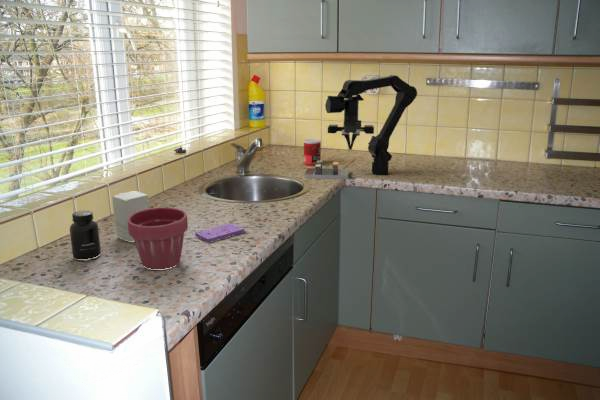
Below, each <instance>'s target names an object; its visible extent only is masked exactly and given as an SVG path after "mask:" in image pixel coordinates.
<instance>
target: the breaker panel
mask: <svg viewBox="0 0 600 400" xmlns="http://www.w3.org/2000/svg"><path fill="white" fill-rule="evenodd" d="M314 167H315V168H313V167H311V168H310V167H307V168H306V170H305V172H304V178H305V179H333V180H335V179H336V180H337V179H338V180H348V179H349V174H350V169H349V168H338V172H333V168H323V159H321V160H317V164H316V165H315V166H314Z"/></svg>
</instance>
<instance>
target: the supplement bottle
mask: <svg viewBox="0 0 600 400" xmlns="http://www.w3.org/2000/svg"><path fill="white" fill-rule="evenodd" d="M71 215H72V216H71V217H72V223H71V225H70V226H69V234H70V235H69V236H70V242H71V253H72V257H74V258H76V259H88V258H93V257H96V256H98V255H99V254H100V253H101V254H102V251H101V242H100V241H101V239H100V230H99V225H98V222H96V221H95V220H94V216H93V211H91V210H78V211H75V212H73V213H72V214H71ZM74 258H73V259H74Z"/></svg>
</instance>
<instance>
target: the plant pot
mask: <svg viewBox="0 0 600 400" xmlns="http://www.w3.org/2000/svg"><path fill="white" fill-rule="evenodd" d="M188 228H189V226H188V215H187V212H186V211H184V210H182V209H179V208H175V207H165V206H164V207H152V208H149V209H145V210H141V211H138V212H136V213H134V214H132V215H131V216H129V218H128V230H129V235H130V236H131V237H133V238H134V241H135V242H134V244H135V247H136V249H137V253H138V256H139V258H140V261H141V263H142V264H141V265H142V267H143V266H145V267H147V268H151V269H165V268H170V267H173V266H175V265H177V264H178V263H179V262H181V256H182V251H183V245H184V238H185V233H186V232H187V230H188ZM179 264H180V263H179ZM179 264H178V265H179ZM178 265H177V266H178Z"/></svg>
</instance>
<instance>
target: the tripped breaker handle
mask: <svg viewBox="0 0 600 400" xmlns="http://www.w3.org/2000/svg"><path fill="white" fill-rule="evenodd" d="M332 169H333V172H338V169H339V162H337V161H334V162H332Z"/></svg>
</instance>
